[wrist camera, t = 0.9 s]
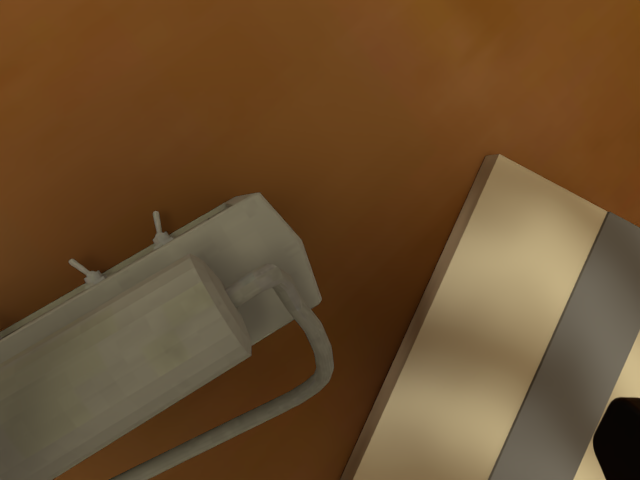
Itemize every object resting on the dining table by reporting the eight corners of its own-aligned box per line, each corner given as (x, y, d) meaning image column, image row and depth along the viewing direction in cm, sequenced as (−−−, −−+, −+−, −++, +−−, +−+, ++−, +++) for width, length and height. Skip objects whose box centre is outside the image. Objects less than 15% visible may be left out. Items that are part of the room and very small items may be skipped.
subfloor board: (569, 602, 28) (587, 622, 26) (322, 519, 25) (328, 537, 23) (713, 276, 28) (738, 280, 27) (485, 155, 25) (501, 153, 24)
